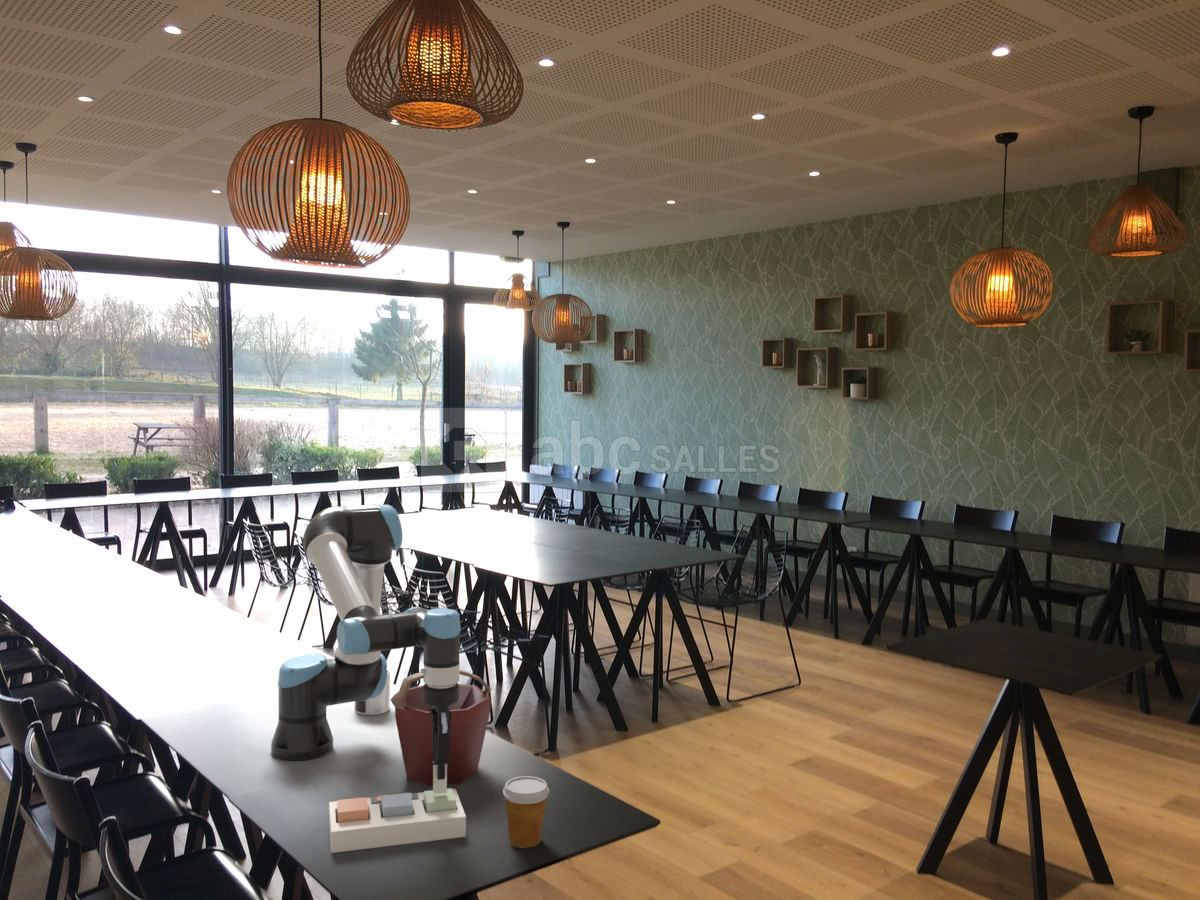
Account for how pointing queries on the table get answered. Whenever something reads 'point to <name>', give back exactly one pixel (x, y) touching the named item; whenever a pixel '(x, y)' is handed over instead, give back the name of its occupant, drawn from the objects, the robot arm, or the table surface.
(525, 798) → the disposable coffee cup
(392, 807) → the slate key
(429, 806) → the sage key
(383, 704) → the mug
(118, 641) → the table surface
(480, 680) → the bucket
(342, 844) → the keypad
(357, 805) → the terracotta key
